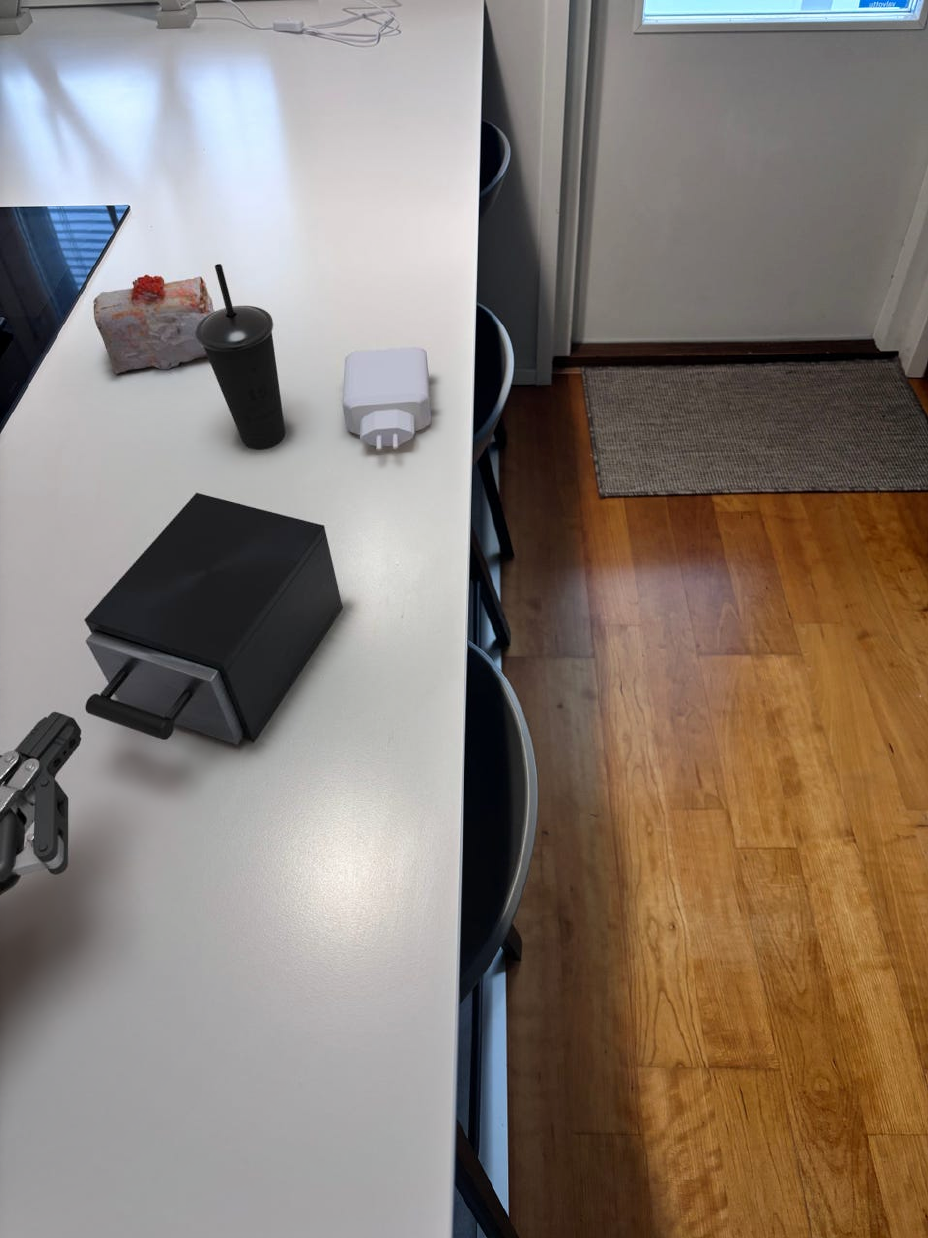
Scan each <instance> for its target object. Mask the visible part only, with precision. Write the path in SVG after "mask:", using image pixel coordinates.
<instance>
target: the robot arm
mask: <svg viewBox="0 0 928 1238" xmlns="http://www.w3.org/2000/svg"><path fill="white" fill-rule="evenodd" d="M81 735H82V729H81V727H80V726H79V724H78V722H77V721H76V719H75V718H74V717H72V716H69V715H66V714H63V713H60V712H58V711H53V712H51V713H50V714H49V715H48V716H45V717H43V718H42V719H40V720H39V721H38V722H36V724H35V725H34V726H33V728H31V730H30V731H29V733H27V735H26V736H25V737H24V738H23V739H22V741H21V742H20V743H19V745H18V746H17V747H16V748H15V749H14V750H9V751H7V752H5V753H3V754H0V897H1V896H2V895H3V894H5V893H6V892H8V891H10V890H11V889H13V888H14V887H15V886H17V884H18V883H19V882H20V880H21V877H22V876H23V875H28V874H32V873H36V872H40V871H42V870H47V871H48V872H49V873H50V874H51V875H55V876H57V875H60V874H62V873H64V872H65V871H66V870H67V868H68V866H69V797H68V796H67V794H66V792H65V791H64V790H63V788H62V787H61V786H60V784H59V783H58V782H57V780H56V776H57V774H58V772H60V770H61V769H62V768H63V767H64V765H65V764H66V763H67V762H68V760H69V759H70V758H71V756H73V754H74V752H75V751H76V750H78V747H79V746H81V745H80V744H81V741H82V737H81ZM33 823H34V824H33ZM32 825H33V833H30V834H28V835H27V836H26V834H27V832H28V831H29V829H30V828H31V827H32ZM25 841H26V842H25Z"/></svg>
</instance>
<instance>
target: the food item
mask: <svg viewBox="0 0 928 1238" xmlns="http://www.w3.org/2000/svg"><path fill="white" fill-rule="evenodd" d="M132 285H133V287H132V288H126V289H118V290H112V291H102V292H100V294H98V295H97V296H96V297H95V298H94V299H93V302H92V303H93V318H94V323H95V325H96V327H97V329H98V332H99V334H100V336H101V339H102V341H103V345H104V348H105V349H106V352H107V354H108V357H109V359H110V362H111V366H112V369H113V371H114V373H115V374H116V375H118V374H120V373H125V372H127V371H133V370H140V369H144V368H145V369H146V368H151V367H155V368H158V369H159V370H163V371H164V370H166V371H167V370H170V369H171V368H174V367H178V366H179V365H180V363H187V362H190V361H193V360H196V359H201V358H205V357H206V358H208V356H207V354H206V352H205V349H204V347H203V345H201V343H200V342H199V341H198V339H197V336H196V329H197V326H198V324H199V323H200V322H201V321H202V320H203V319H204V318H205V317H206V316H208V315H209V314H211V313H213V312H215V311H216V310H215V308H214V304H213V299H212V297H211V296H210V294H209V292H208V288H207V284H206V282H205V280H204V279H203V278H202V276H196V277H194V278H187V279H183V280H176V281H171V282H165V280H164V278H163V277H162V276H161V275H160V276H159V275H154V276H150V275H149V274H144V275H143V276H138V277H137V278H136V279H134V280H133V281H132Z"/></svg>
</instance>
